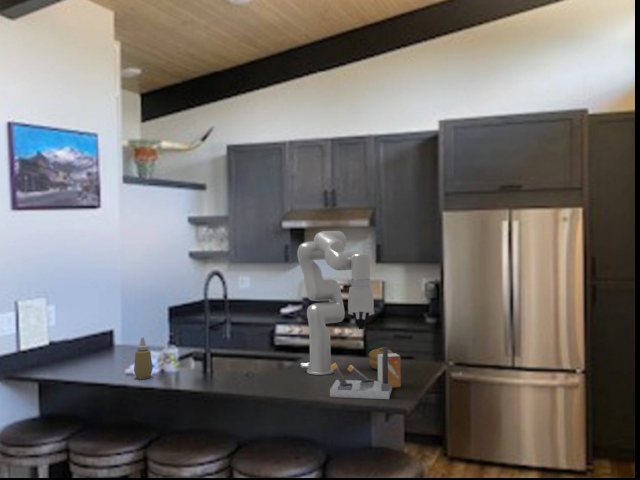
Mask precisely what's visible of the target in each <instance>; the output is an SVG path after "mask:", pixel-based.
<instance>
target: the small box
mask: <svg viewBox="0 0 640 480" xmlns="http://www.w3.org/2000/svg"><path fill="white" fill-rule="evenodd" d="M377 381H383V354H378V370H377ZM388 381H392V388H401V387H402V386H401V385H402V384H401V383H402V382H401V355H400V354H398V353H394V352H393V353H392V354H388Z"/></svg>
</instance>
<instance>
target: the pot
mask: <svg viewBox="0 0 640 480" xmlns="http://www.w3.org/2000/svg"><path fill="white" fill-rule="evenodd" d="M392 353H394V352H393V351H392V350H391V349H389V348H388V354H392ZM378 354H383V347H379V348H375V349H372V350H370V352H369V353H368V357H369V360H368V363H369V365H370V367H371V368H373V370H377V371H378Z"/></svg>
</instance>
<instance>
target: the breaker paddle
mask: <svg viewBox="0 0 640 480" xmlns="http://www.w3.org/2000/svg"><path fill="white" fill-rule="evenodd" d="M347 371H349V372H350V373H351V374H352V375H354V376H355V377H356V378H358V379H359V381H363V382H367V380H369V378H368V377H367V376H366V375H365V374H363V373H362V372H360V371H359V370H358V369H356V367H354V365H352V364H350V365H349V366H348V367H347Z"/></svg>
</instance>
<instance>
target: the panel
mask: <svg viewBox="0 0 640 480" xmlns="http://www.w3.org/2000/svg"><path fill="white" fill-rule="evenodd" d="M345 380H346V382H347V384H346V385H344V386H342V385H341V383H340V381H339V380H338V379H336V380H335V381H334V383H333V384H332V386H331V387H330V389H329V397H330V398H344V399H345V398H346V399H371V400H372V399H374V400H375V399H376V400H377V399H378V400H379V399H380V400H390V397H391V393H392V391H393V387H392V381H388V382H390V389H389V390H381V384H382V382H383V381H378V380H375V379H368V380H367V382H363V381H361V380H356V379H355V380H353V379H352V380H351V379H345Z"/></svg>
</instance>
